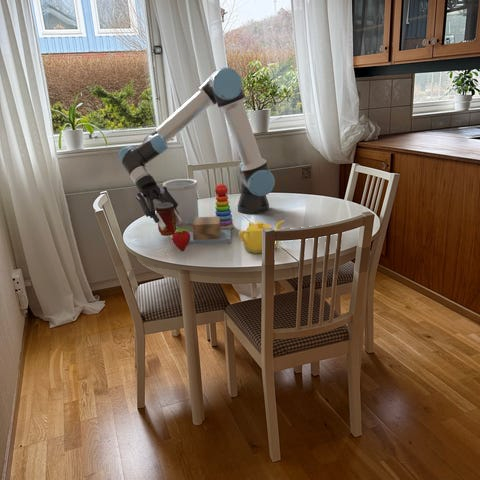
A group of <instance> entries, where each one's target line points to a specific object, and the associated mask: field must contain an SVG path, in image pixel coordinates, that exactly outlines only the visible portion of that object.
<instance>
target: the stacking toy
mask: <svg viewBox="0 0 480 480" xmlns="http://www.w3.org/2000/svg"><path fill="white" fill-rule="evenodd" d="M214 191H215V192H214V193H215V194H216V196H215V199H216V201H215V212H214V213H215V216H214V217H216V216H220V223H221V230H230V229H231V230H232V229H233V228H234V226H235V225H234V223H233V222H234V219H233V214H232V210H231V206H230V202H229V200H228V199H229V196H228V195H227V194H228V192H229V191H228V187H227V186H226V184H224V183H219V184H217V185H216V186H215V189H214Z"/></svg>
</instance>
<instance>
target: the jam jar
mask: <svg viewBox="0 0 480 480" xmlns="http://www.w3.org/2000/svg"><path fill="white" fill-rule="evenodd" d="M156 213H158V214H159V216H160V217H161V219H162V220H163V222H164V224H165V225H166V227H165V229H164V230H162V229H161V228H160V226H159V225H158V224H157V228H158V232H159V233H160V235H161V236H163V237H170V236H171V237H172V235H173V234H174V233H175V231H177V230H176V229H177V225H176V220H175V211H174V205H173V204H172V203H169V202H164V203H161V202H160V203H158V204H157V205H155V214H156Z"/></svg>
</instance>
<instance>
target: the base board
mask: <svg viewBox="0 0 480 480" xmlns="http://www.w3.org/2000/svg"><path fill="white" fill-rule="evenodd" d="M187 231H188V230H187ZM188 232H189V233H190V241H189V243H188V245H187V246H193V245H197V246H198V245H215V244H216V245H217V244H231V242H232V229H229V230H221V234H220V239H206V240H194V238H193V230H190V231H188Z"/></svg>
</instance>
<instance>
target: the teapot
mask: <svg viewBox="0 0 480 480" xmlns="http://www.w3.org/2000/svg"><path fill="white" fill-rule="evenodd" d="M284 221H285V220H283V219H282V220H279V221H278V222H277V224H276V228H275V230H276V229H280V230H281V226H282V224H283V223H284ZM248 225H249V226H247V228H246V229H245V230H240V231H238V237H239V239H240V240H241V241H242V244H243V246H244V248H245V249H246V250H247V251H248V252H249V253H251V254H263V253H262V230H263V229H266V228H273V229H274V227H273V226H272V225H270V224H268V223H264V222H261V221H259V222H258V221H257V222H256V223H255V222H254V221H252V222H249V223H248ZM278 246H279V240H278V241H276V244H275V250H276V249H277V248H278Z"/></svg>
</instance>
